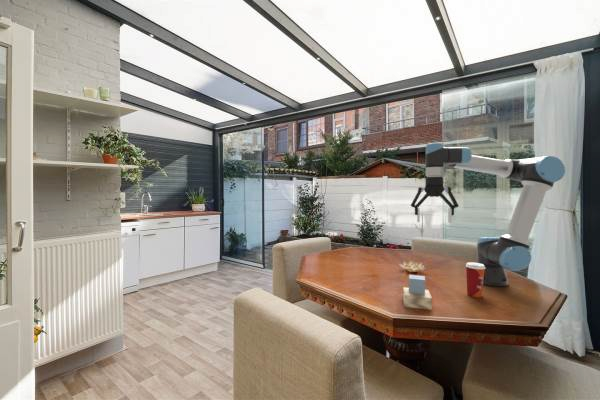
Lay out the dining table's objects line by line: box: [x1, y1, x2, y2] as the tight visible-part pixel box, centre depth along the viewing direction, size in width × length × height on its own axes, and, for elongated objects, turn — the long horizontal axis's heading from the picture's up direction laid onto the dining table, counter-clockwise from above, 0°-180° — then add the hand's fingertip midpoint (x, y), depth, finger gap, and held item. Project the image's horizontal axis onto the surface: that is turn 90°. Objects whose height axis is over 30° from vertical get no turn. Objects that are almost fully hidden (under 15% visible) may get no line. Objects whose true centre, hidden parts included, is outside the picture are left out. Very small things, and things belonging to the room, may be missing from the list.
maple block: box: [402, 286, 433, 311], centre depth 122 cm, size 10×10×5 cm
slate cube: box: [408, 274, 426, 295], centre depth 122 cm, size 6×6×6 cm
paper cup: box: [465, 261, 485, 298], centre depth 132 cm, size 8×8×14 cm
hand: (433, 222), depth 138 cm, fingers open, 13 cm apart
